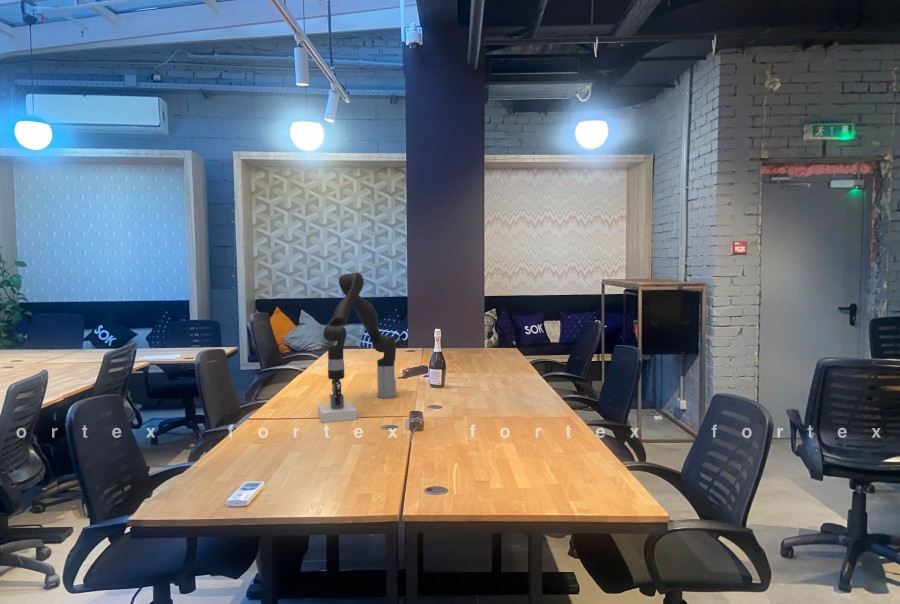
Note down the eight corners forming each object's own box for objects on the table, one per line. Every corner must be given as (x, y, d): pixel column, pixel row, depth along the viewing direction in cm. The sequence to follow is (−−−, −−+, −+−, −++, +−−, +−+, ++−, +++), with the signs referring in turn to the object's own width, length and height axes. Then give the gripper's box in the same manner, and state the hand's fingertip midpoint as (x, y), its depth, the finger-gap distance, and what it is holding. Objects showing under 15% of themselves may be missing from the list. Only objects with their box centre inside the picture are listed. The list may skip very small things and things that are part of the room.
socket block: (351, 411, 289) (351, 402, 288) (357, 419, 273) (356, 410, 273) (318, 414, 283) (317, 405, 283) (322, 423, 268) (321, 413, 268)
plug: (342, 414, 282) (341, 393, 281) (344, 417, 277) (343, 396, 276) (330, 415, 280) (329, 394, 279) (332, 418, 275) (331, 397, 274)
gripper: (346, 370, 271) (347, 406, 272) (341, 365, 285) (342, 399, 286) (329, 371, 269) (330, 408, 270) (326, 366, 282) (327, 401, 284)
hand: (337, 403), depth 278 cm, fingers closed on plug, 5 cm apart
